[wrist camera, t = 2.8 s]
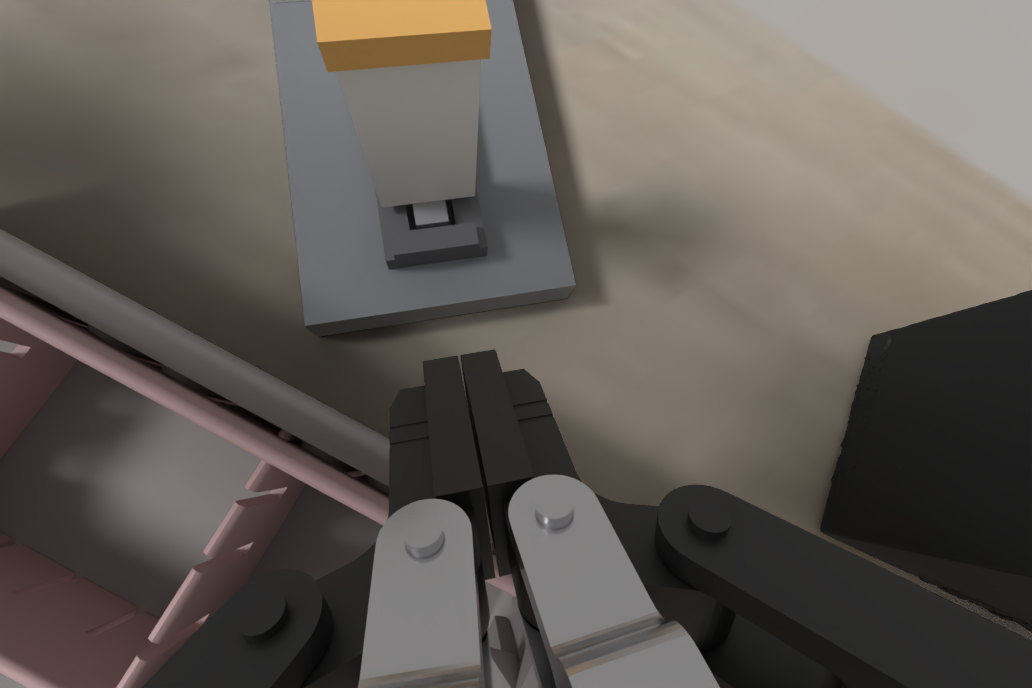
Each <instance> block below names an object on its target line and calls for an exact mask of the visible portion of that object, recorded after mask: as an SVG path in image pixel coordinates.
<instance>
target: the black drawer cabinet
mask: <svg viewBox="0 0 1032 688" xmlns="http://www.w3.org/2000/svg"><path fill="white" fill-rule="evenodd" d="M841 447H842V449H841V454H840V456H839V457H838V461H837V463H836V470H835V472H834V475H833V477H832V486H831V489H830V493H829V497H828V500H827V504H826V508H825V512H824V516H823V519H822V524H821V528H820V529H821V532H823V533H824V534H827V535H828V536H830V537H832V538H834V539H837V540H839V541H841V542H843V543H845V544H847V545H850V546H852V547H854V548H856V549H858V550H860V551H862V552H864V553H867V554H869V555H871V556H873V557H876V558H878V559H880V560H882V561H884V562H886V563H888V564H891V565H893V566H895V567H897V568H900V569H902V570H904V571H906V572H909V573H911V574H913V575H915V576H918V577H919V578H920V579H921V580H922V581H924V582H926V583H931V584H932V585H937V586H938V587H939V588H940V589H942V590H943V591H945V592H948V593H950V594H952V595H954V596H956V597H958V598H960V599H964V600H968V601H969V602H971V603H976V604H977V605H980V606H982V607H984V608H986V609H987V610H988V611H989V612H991V613H993V614H995V615H997V616H999V617H1001V618H1002V619H1007V620H1009V621H1015V622H1016V623H1018V624H1020V625H1022V626H1023V627H1025V628H1026V629H1027V630H1029V631H1032V290H1030V291H1026V292H1023V293H1020V294H1018V295H1015V296H1011V297H1007V298H1003V299H1000V300H996V301H993V302H989V303H985V304H982V305H979V306H976V307H972V308H968V309H964V310H961V311H957V312H954V313H950V314H947V315H944V316H940V317H936V318H932V319H929V320H925V321H922V322H919V323H916V324H911V325H909V326H906V327H903V328H899V329H894V330H890V331H887V332H884V333H880V334H876V335H873V336H872V337H871V340H870V344H869V347H868V351H867V355H866V357H865V363H864V367H863V369H862V373H861V376H860V379H859V384H858V385H857V390H856V392H855V398H854V401H853V403H852V406H851V411H850V417H849V421H848V427H847V430H846V433H845V437H844V439H843V441H842V444H841Z"/></svg>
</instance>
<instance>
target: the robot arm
mask: <svg viewBox="0 0 1032 688" xmlns="http://www.w3.org/2000/svg"><path fill="white" fill-rule="evenodd" d="M461 363H462V370H463V377H464V384H465V391H466V396H465V391H464V386H463V381H462V375H461V370H460V365H459V360H458V356H452V357H446V358H440V359H434V360H428V361H423V371H424V382H425V386H420V387H414V388H408V389H402V390H400V392H399V393H398V395H397V397H396V398H395V400H394V402H393V404H392V405H391V407H390V440H389V444H390V448H389V514H388V519H387V521H386V522H385V523H384V525H383V527H382V528H381V530H380V532H379V534H378V537H377V541H376V542H375V543H374V544H373V545H372V546H371V547H370V548H369V549H368V550H367V551H366V552H365V553H364V554H362V555H361V556H360V557H358V558H357V559H355V560H354V561H352V562H350V563H348V564H347V565H345V566H343V567H341V568H339V569H337V570H335V571H333V572H331V573H329V574H327V575H325V576H323V577H321V578H319V579H318V580H316V581H315V580H314V578H313V577H311V576H310V575H309V574H307V573H305V572H302V571H300V570H294V569H282V570H276V571H272V572H269V573H266V574H263V575H261V576H259V577H257V578H255V579H253V580H251V581H250V582H248V583H246V584H245V585H244V586H242V587H241V588H240V589H238V590H237V591H236V592H235V593H234V594H233V595H232V596H231V597H229V598H228V600H227V601H226V602H225V603H224V604H223V605H222V606H221V607H220V608H219V609H218V610H217V611H216V612H215V613H214V614H213V615H212V616H211V617H210V618H209V619H208V620H207V621H206V622H205V623H204V624H203V625H202V626H201V627H200V628H199V629H198V630H197V631H196V632H195V633H194V634H193V635H192V636H191V637H190V639H189V640H188V641H187V642H186V643H185V644H184V645H183V646H182V647H181V648H180V649H179V650H178V651H177V652H176V653H175V654H174V655H173V656H172V657H171V658H170V659H169V660H168V661H167V662H166V663H165V664H164V665H163V666H162V667H161V668H160V669H159V670H158V671H157V672H156V673H155V674H154V675H153V676H152V677H151V679H150V680H149V681H148V682H147V683H146V684H145V685H144V686H143V687H142V688H493V677H492V665H491V652H490V640H489V629H488V625H489V619H490V610H489V603H488V597H487V590H486V584H485V580H489V579H493V578H496V577H495V570H494V563H493V556H492V549H491V541H490V534H489V527H488V520H489V525H490V531H491V536H492V541H493V546H494V552H495V557H496V562H497V567H498V573H499V577H501V576H505V575H510V574H512V579H513V583H514V588H515V593H516V597H517V605H518V615H519V620H520V624H521V628H522V631H523V635H524V638H525V642H526V645H527V648H528V652H529V655H530V659H531V662H532V666H533V669H534V673H535V676H536V679H537V683H538V686H539V688H1032V641H1031V640H1029V639H1027V638H1025V637H1023V636H1021V635H1019V634H1017V633H1014V632H1012V631H1010V630H1008V629H1006V628H1004V627H1002V626H1000V625H998V624H996V623H994V622H992V621H990V620H988V619H986V618H984V617H982V616H980V615H978V614H975V613H973V612H971V611H969V610H967V609H965V608H963V607H961V606H959V605H957V604H955V603H953V602H951V601H949V600H947V599H945V598H943V597H941V596H939V595H937V594H934V593H932V592H930V591H928V590H926V589H924V588H922V587H920V586H918V585H916V584H914V583H912V582H910V581H908V580H906V579H904V578H902V577H900V576H898V575H895V574H893V573H891V572H889V571H887V570H885V569H883V568H881V567H879V566H877V565H875V564H873V563H871V562H869V561H867V560H865V559H863V558H861V557H859V556H857V555H854V554H852V553H850V552H848V551H846V550H844V549H842V548H840V547H838V546H836V545H834V544H832V543H830V542H828V541H826V540H824V539H822V538H820V537H818V536H815V535H813V534H811V533H809V532H807V531H805V530H803V529H801V528H799V527H797V526H795V525H793V524H791V523H789V522H787V521H785V520H783V519H781V518H779V517H777V516H774V515H772V514H770V513H768V512H766V511H764V510H762V509H760V508H758V507H756V506H754V505H752V504H750V503H748V502H746V501H744V500H742V499H740V498H738V497H735V496H733V495H731V494H729V493H727V492H725V491H723V490H720V489H717V488H714V487H710V486H704V485H688V486H683V487H679V488H677V489H675V490H673V491H671V492H670V493H669V494H667V495H666V496H665V498H664V499H663V500H662V502H661V504H660V506H646V505H634V504H624V503H618V502H614V501H610V500H608V499H605V498H603V497H601V496H599V495H597V494H595V493H594V492H593V491H592V490H591V489H590V488H589V487H588V486H586V485H585V484H584V483H582V481H581V480H580V479H579V477H578V475H577V473H576V471H575V469H574V466H573V464H572V461H571V459H570V456H569V454H568V451H567V449H566V446H565V444H564V441H563V439H562V436H561V434H560V431H559V429H558V427H557V424H556V422H555V419H554V418H553V415H552V412H551V409H550V407H549V404H548V403H547V399H546V397H545V394H544V392H543V389H542V387H541V385H540V382H539V381H538V380H536V379H535V378H534V377H533V376H532V375H530V374H529V373H528V372H527V371H526V370H524V369H520V370H514V371H508V372H502V370H501V367H500V363H499V360H498V357H497V354H496V351H495V350H489V351H482V352H476V353H470V354H464V355H461ZM466 398H467V401H466ZM467 405H468V407H467ZM485 504H486V505H485ZM486 510H487V512H486ZM487 515H488V520H487Z"/></svg>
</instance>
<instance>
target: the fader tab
mask: <svg viewBox="0 0 1032 688" xmlns="http://www.w3.org/2000/svg"><path fill="white" fill-rule="evenodd" d="M312 6H313V13H314V21H315V29H316V37H317V43H318V46H319V49H320V52H321V54H322V57H323V60H324V63H325V66H326V69H327V71H328V72H336V71H337V74H338V77H339V80H340V83H341V86H342V89H343V92H344V95H345V98H346V101H347V104H348V107H349V110H350V113H351V116H352V120H353V123H354V126H355V129H356V132H357V135H358V138H359V141H360V144H361V147H362V150H363V153H364V156H365V159H366V162H367V165H368V168H369V171H370V174H371V177H372V180H373V183H374V186H375V189H376V192H377V195H378V198H379V201H380V204H381V207H390V206H398V205H407V204H413V211H414V217H415V223H416V228H417V230H418V229H425V228H433V227H441V226H449V219H448V214H447V208H446V202H445V200H448V199H456V198H464V197H473V196H475V184H476V162H477V140H478V118H479V96H480V74H481V59H490V47H491V32H492V28H491V24H490V19H489V14H488V9H487V4H486V0H312Z"/></svg>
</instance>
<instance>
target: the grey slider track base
mask: <svg viewBox="0 0 1032 688" xmlns="http://www.w3.org/2000/svg"><path fill="white" fill-rule="evenodd" d="M269 2H270V11H271V20H272V29H273V38H274V48H275V57H276V66H277V75H278V84H279V93H280V102H281V112H282V121H283V130H284V139H285V148H286V157H287V167H288V176H289V185H290V194H291V203H292V212H293V222H294V231H295V240H296V249H297V258H298V267H299V276H300V286H301V295H302V304H303V313H304V322H305V326H306V327H307V328H308V329H309V330H310V331H312V332H313V333H314V334H315V335H317V336H318V337H320V336H326V335H333V334H339V333H346V332H352V331H359V330H365V329H372V328H378V327H385V326H391V325H398V324H404V323H411V322H417V321H424V320H430V319H437V318H443V317H450V316H456V315H463V314H469V313H476V312H482V311H489V310H495V309H502V308H508V307H515V306H521V305H528V304H534V303H541V302H547V301H554V300H560V299H567V298H568V297H569V295H570V294H571V292H572V291H573V289H574V288H575V286H576V283H575V278H574V274H573V269H572V265H571V260H570V256H569V251H568V247H567V242H566V238H565V233H564V229H563V224H562V220H561V215H560V211H559V206H558V202H557V197H556V193H555V188H554V184H553V179H552V175H551V170H550V166H549V161H548V157H547V152H546V147H545V143H544V138H543V134H542V129H541V125H540V120H539V116H538V111H537V107H536V102H535V98H534V93H533V89H532V84H531V80H530V75H529V71H528V66H527V62H526V57H525V53H524V48H523V44H522V39H521V35H520V30H519V26H518V21H517V17H516V12H515V8H514V3H513V0H486V4H487V9H488V14H489V19H490V24H491V28H492V32H491V47H490V59H481V74H480V96H479V118H478V140H477V162H476V184H475V196H473V197H464V198H456V199H448V200H445V202H446V208H447V214H448V219H449V226H441V227H433V228H425V229H418V230H417V228H416V223H415V217H414V211H413V204H407V205H398V206H390V207H381V204H380V201H379V198H378V195H377V192H376V189H375V186H374V183H373V180H372V177H371V174H370V171H369V168H368V165H367V162H366V159H365V156H364V153H363V150H362V147H361V144H360V141H359V138H358V135H357V132H356V129H355V126H354V123H353V120H352V116H351V113H350V110H349V107H348V104H347V101H346V98H345V95H344V92H343V89H342V86H341V83H340V80H339V77H338V74H337V71H336V72H328V71H327V69H326V66H325V63H324V60H323V57H322V54H321V52H320V49H319V46H318V43H317V37H316V29H315V21H314V13H313V6H312V0H269Z"/></svg>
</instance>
